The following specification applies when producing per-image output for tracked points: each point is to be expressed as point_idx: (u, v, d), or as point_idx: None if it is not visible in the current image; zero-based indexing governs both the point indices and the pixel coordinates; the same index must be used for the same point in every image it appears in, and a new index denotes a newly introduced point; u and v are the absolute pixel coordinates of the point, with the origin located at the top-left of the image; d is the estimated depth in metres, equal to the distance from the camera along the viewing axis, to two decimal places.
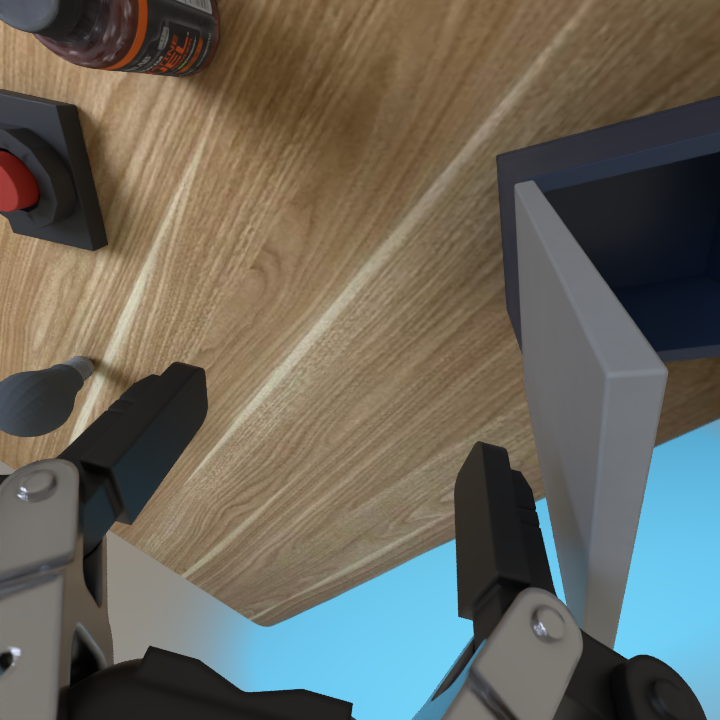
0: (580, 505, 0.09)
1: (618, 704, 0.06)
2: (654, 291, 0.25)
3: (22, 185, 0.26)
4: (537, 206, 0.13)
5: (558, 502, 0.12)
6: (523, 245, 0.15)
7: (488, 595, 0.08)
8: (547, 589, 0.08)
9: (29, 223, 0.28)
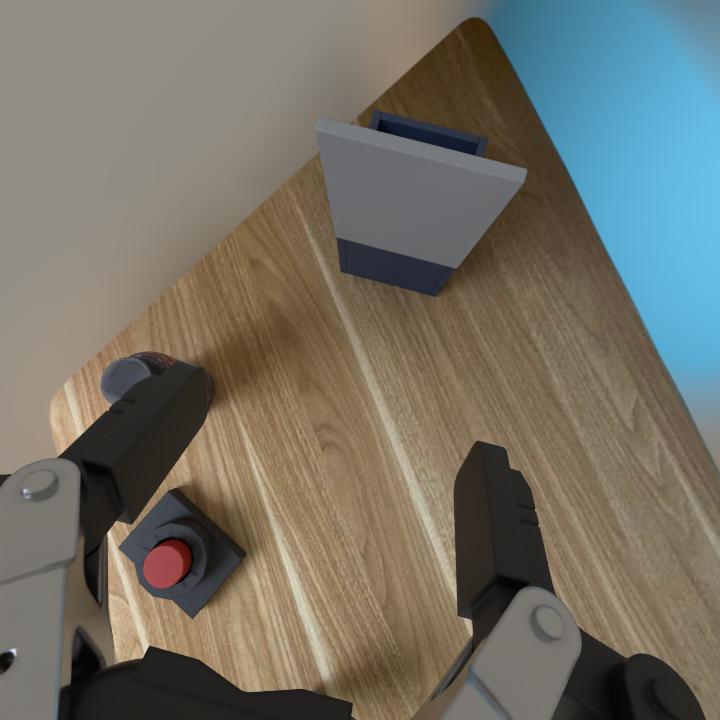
0: (395, 160, 0.20)
1: (617, 703, 0.06)
2: None
3: (179, 547, 0.34)
4: None
5: (446, 199, 0.23)
6: (353, 227, 0.30)
7: (488, 594, 0.08)
8: (546, 588, 0.08)
9: (196, 579, 0.35)
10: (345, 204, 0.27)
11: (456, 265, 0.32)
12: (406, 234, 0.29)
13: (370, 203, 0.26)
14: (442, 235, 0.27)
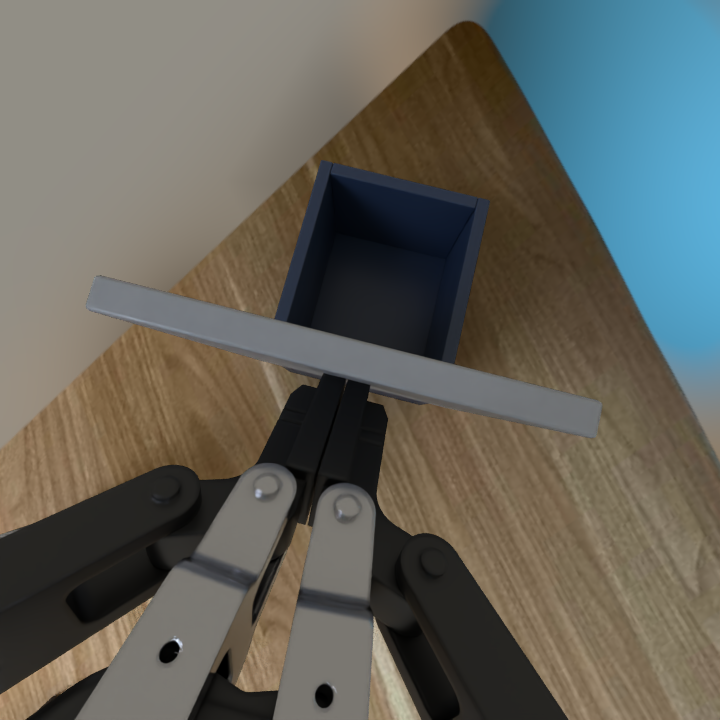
0: (288, 362, 0.09)
1: (405, 594, 0.07)
2: (440, 292, 0.30)
3: None
4: None
5: (414, 396, 0.11)
6: (277, 364, 0.19)
7: None
8: (369, 490, 0.09)
9: None
10: None
11: (445, 407, 0.21)
12: None
13: (283, 364, 0.14)
14: (418, 399, 0.16)
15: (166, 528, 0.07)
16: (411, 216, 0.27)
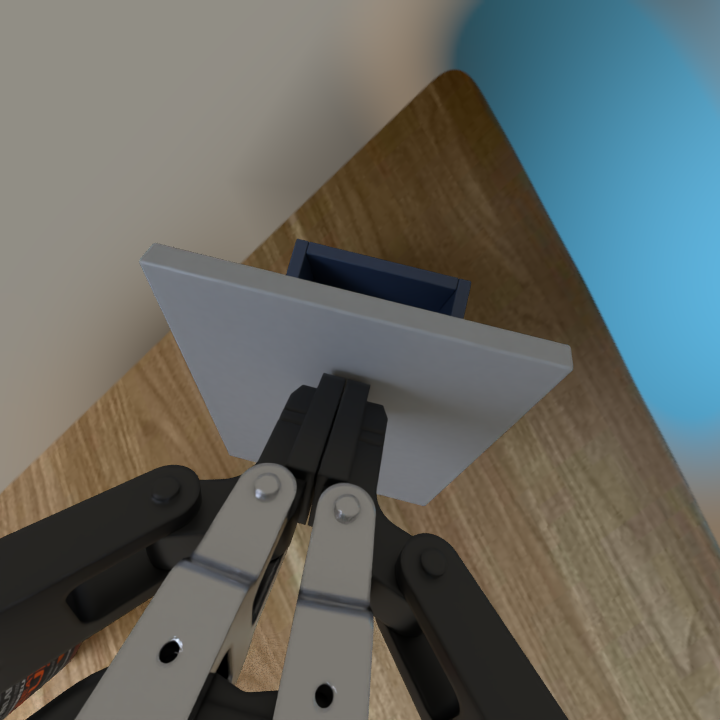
0: (305, 325, 0.10)
1: (405, 595, 0.07)
2: None
3: None
4: None
5: (408, 400, 0.12)
6: (253, 443, 0.18)
7: None
8: (369, 490, 0.09)
9: None
10: (232, 406, 0.15)
11: (424, 502, 0.20)
12: None
13: (273, 405, 0.14)
14: (401, 459, 0.16)
15: (166, 528, 0.07)
16: (392, 289, 0.26)
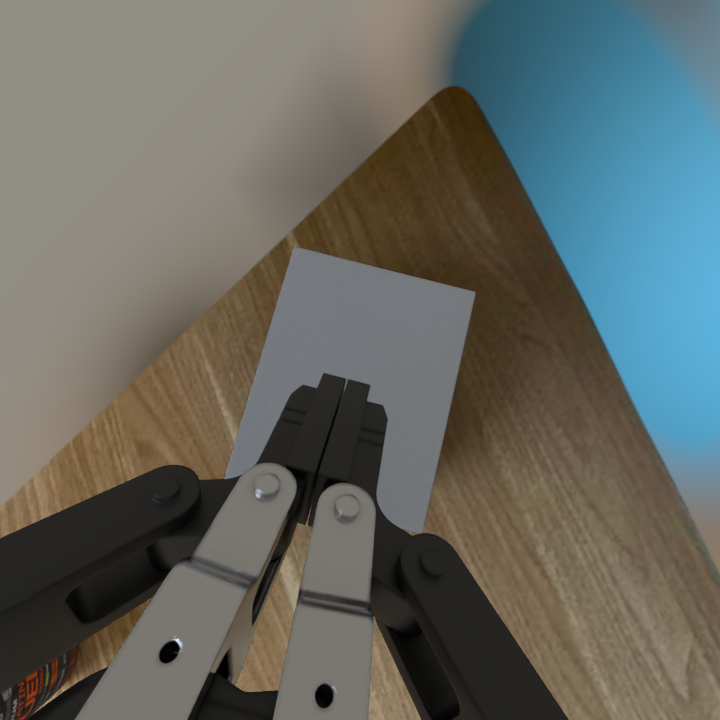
0: (361, 277, 0.22)
1: (405, 594, 0.07)
2: None
3: None
4: None
5: (407, 331, 0.22)
6: (270, 434, 0.21)
7: None
8: (369, 490, 0.09)
9: None
10: (280, 369, 0.21)
11: (421, 517, 0.20)
12: None
13: (316, 359, 0.21)
14: (401, 417, 0.21)
15: (166, 528, 0.07)
16: None
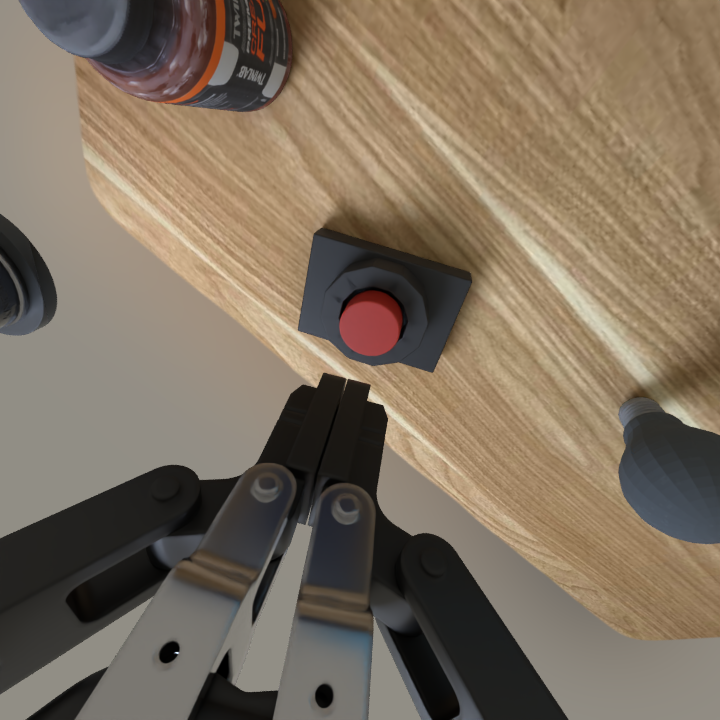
0: None
1: (405, 595, 0.07)
2: None
3: (375, 298, 0.21)
4: None
5: None
6: None
7: None
8: (369, 490, 0.09)
9: (420, 328, 0.23)
10: None
11: None
12: None
13: None
14: None
15: (166, 528, 0.07)
16: None
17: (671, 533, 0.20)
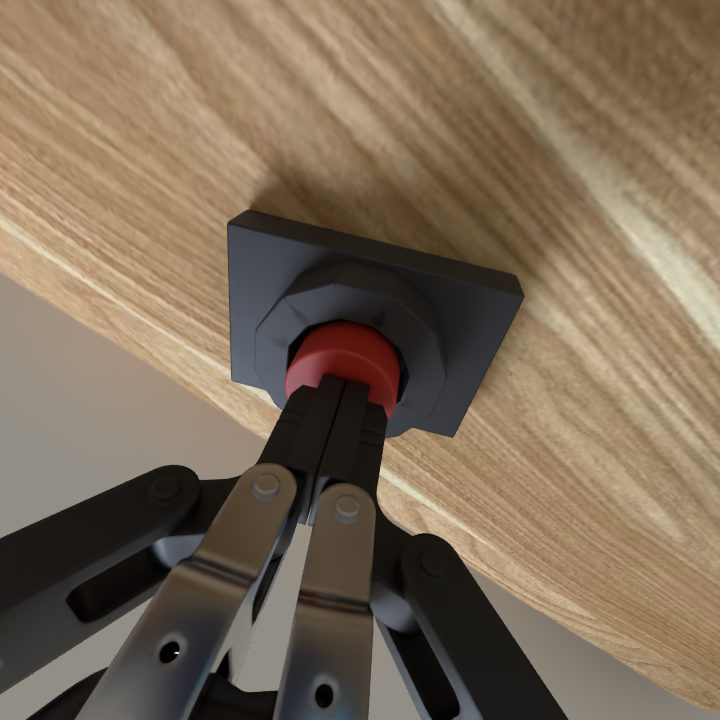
0: None
1: (405, 594, 0.07)
2: None
3: (346, 340, 0.11)
4: None
5: None
6: None
7: None
8: (369, 490, 0.09)
9: (432, 387, 0.13)
10: None
11: None
12: None
13: None
14: None
15: (166, 528, 0.07)
16: None
17: None
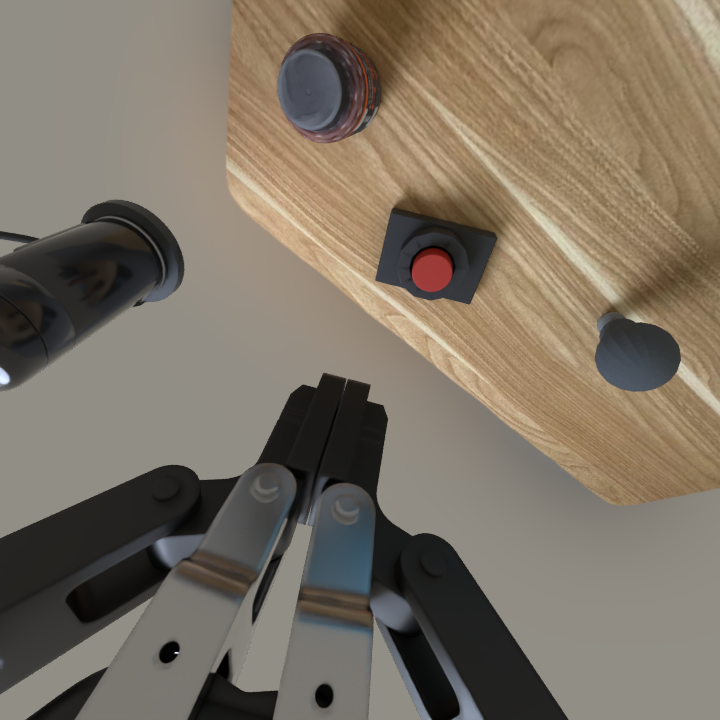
0: None
1: (405, 595, 0.07)
2: None
3: (436, 252, 0.33)
4: None
5: None
6: None
7: None
8: (369, 490, 0.09)
9: (464, 271, 0.35)
10: None
11: None
12: None
13: None
14: None
15: (166, 528, 0.07)
16: None
17: (625, 385, 0.32)
